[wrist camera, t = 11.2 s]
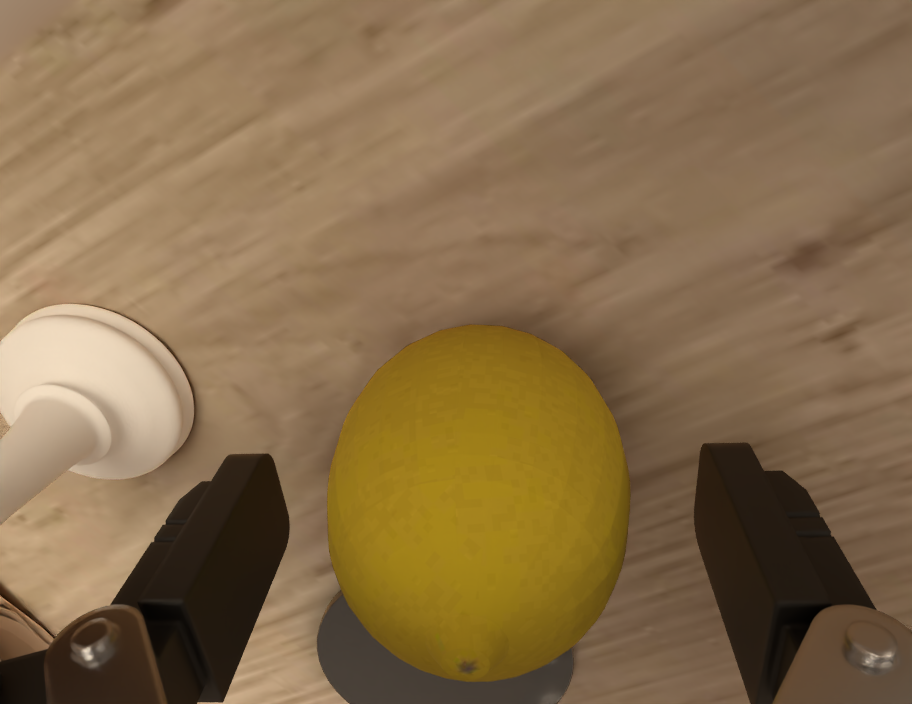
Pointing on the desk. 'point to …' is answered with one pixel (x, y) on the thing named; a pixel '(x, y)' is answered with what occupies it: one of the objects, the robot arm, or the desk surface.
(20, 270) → the desk surface
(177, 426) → the chess piece
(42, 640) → the newspaper
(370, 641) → the slate coaster
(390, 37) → the desk surface
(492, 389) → the lemon
